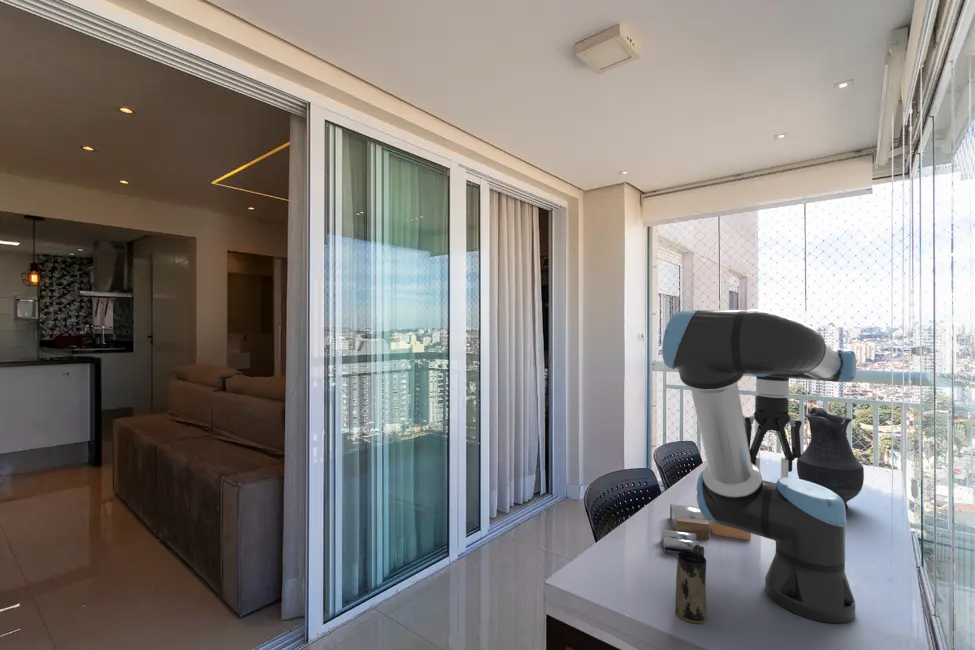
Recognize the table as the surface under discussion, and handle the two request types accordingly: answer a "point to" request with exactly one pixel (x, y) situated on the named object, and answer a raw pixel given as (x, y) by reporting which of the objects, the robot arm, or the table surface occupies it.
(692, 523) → the cardboard box
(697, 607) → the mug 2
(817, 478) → the pitcher
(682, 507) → the silver metal cylinder
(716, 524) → the orange brown block
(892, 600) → the table surface
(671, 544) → the v block
